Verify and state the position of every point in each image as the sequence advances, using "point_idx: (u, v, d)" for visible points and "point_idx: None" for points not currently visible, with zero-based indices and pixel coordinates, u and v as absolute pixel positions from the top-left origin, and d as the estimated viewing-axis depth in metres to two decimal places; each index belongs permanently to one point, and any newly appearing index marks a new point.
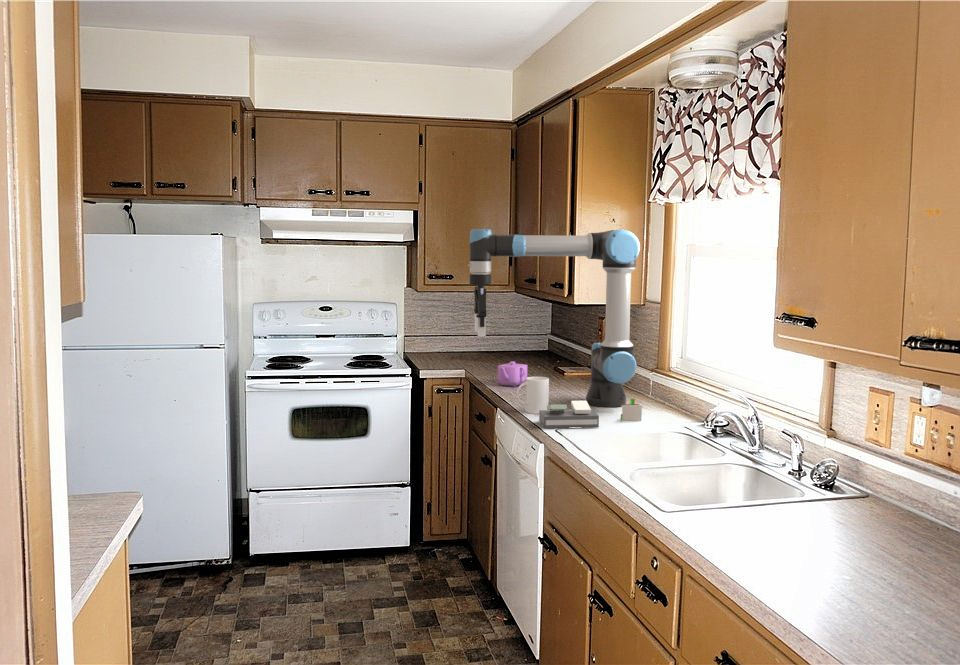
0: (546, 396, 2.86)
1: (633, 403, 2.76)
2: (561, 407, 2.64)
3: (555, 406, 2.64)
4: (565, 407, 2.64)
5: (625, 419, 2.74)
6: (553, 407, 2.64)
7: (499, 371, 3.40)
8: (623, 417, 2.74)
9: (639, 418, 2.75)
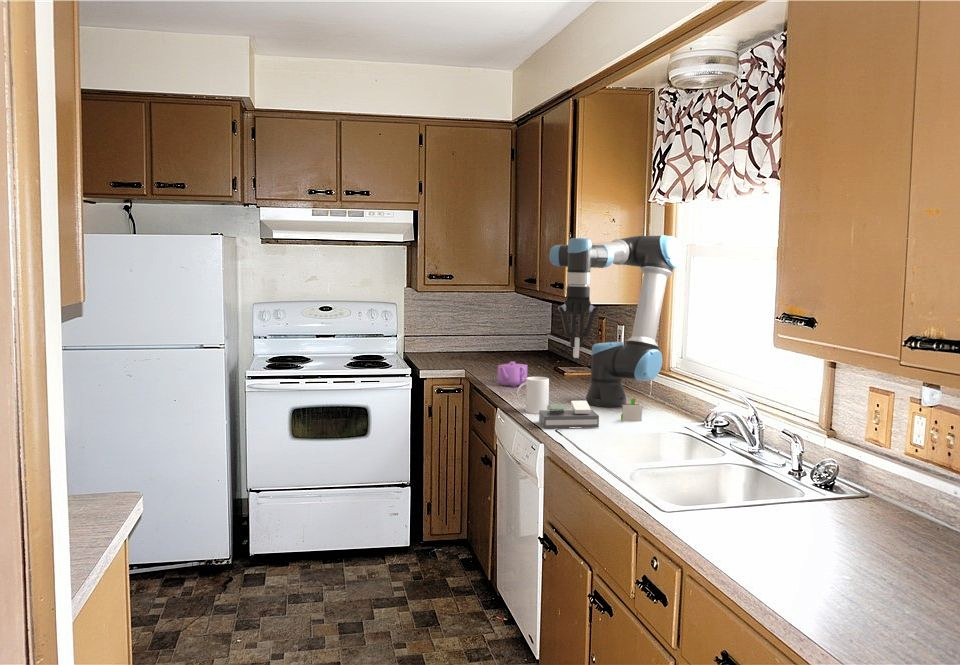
0: (546, 396, 2.86)
1: (633, 403, 2.76)
2: (561, 407, 2.64)
3: (555, 406, 2.64)
4: (565, 407, 2.64)
5: (625, 419, 2.74)
6: (553, 407, 2.64)
7: (499, 371, 3.40)
8: (623, 417, 2.74)
9: (639, 418, 2.75)
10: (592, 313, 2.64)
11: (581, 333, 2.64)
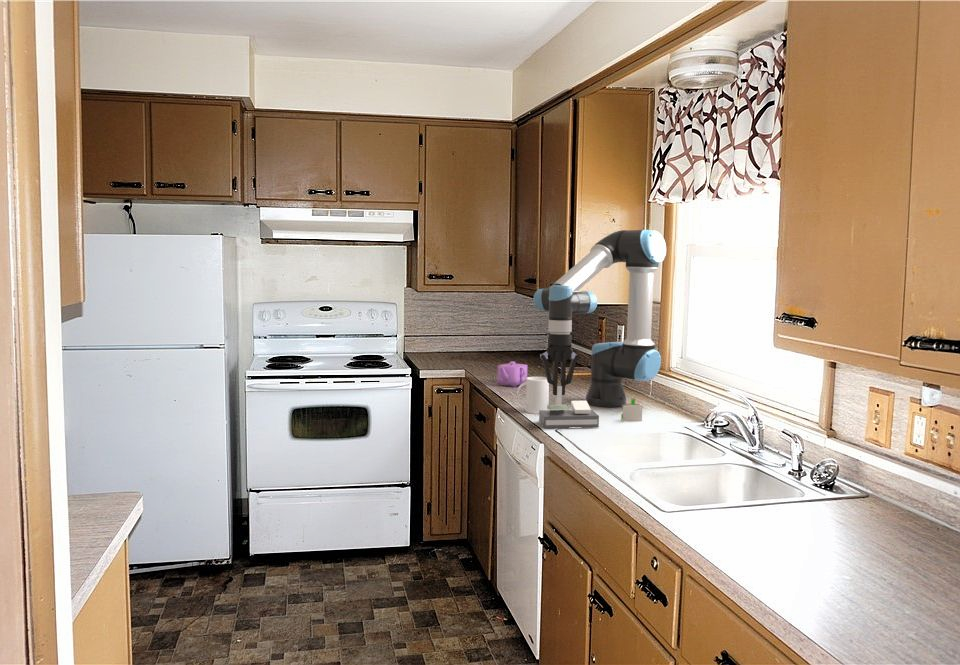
0: (546, 396, 2.86)
1: (634, 403, 2.76)
2: (561, 408, 2.64)
3: (555, 407, 2.64)
4: (565, 408, 2.64)
5: (626, 419, 2.74)
6: (553, 408, 2.64)
7: (499, 371, 3.40)
8: (624, 417, 2.74)
9: (640, 418, 2.75)
10: (574, 360, 2.62)
11: (563, 381, 2.62)
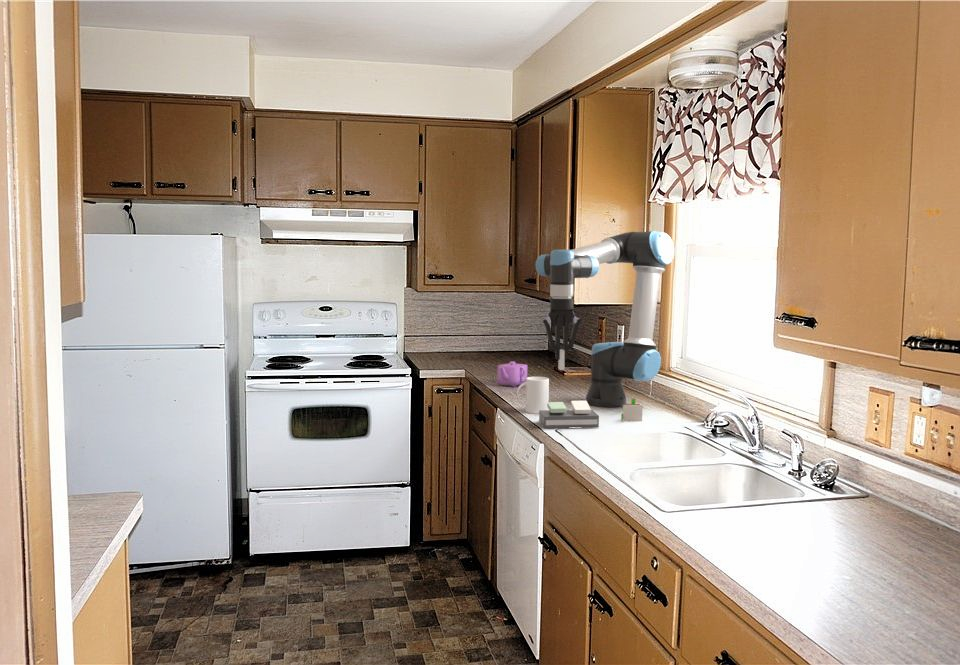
0: (546, 396, 2.86)
1: (634, 403, 2.76)
2: (561, 411, 2.64)
3: (555, 410, 2.64)
4: (565, 411, 2.64)
5: (626, 419, 2.74)
6: (553, 411, 2.64)
7: (499, 371, 3.40)
8: (624, 417, 2.74)
9: (640, 418, 2.75)
10: (576, 325, 2.62)
11: (566, 345, 2.63)
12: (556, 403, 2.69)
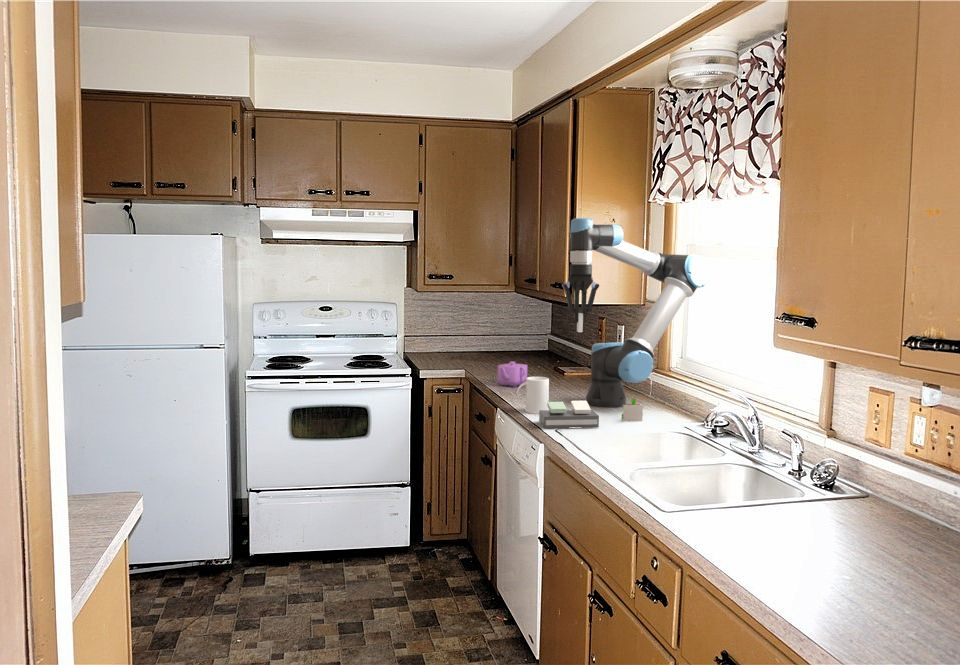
0: (546, 396, 2.86)
1: (634, 403, 2.76)
2: (561, 411, 2.64)
3: (555, 410, 2.64)
4: (565, 411, 2.64)
5: (626, 419, 2.74)
6: (553, 411, 2.64)
7: (499, 371, 3.40)
8: (624, 417, 2.74)
9: (640, 418, 2.75)
10: (594, 289, 2.78)
11: (584, 308, 2.79)
12: (557, 403, 2.69)
